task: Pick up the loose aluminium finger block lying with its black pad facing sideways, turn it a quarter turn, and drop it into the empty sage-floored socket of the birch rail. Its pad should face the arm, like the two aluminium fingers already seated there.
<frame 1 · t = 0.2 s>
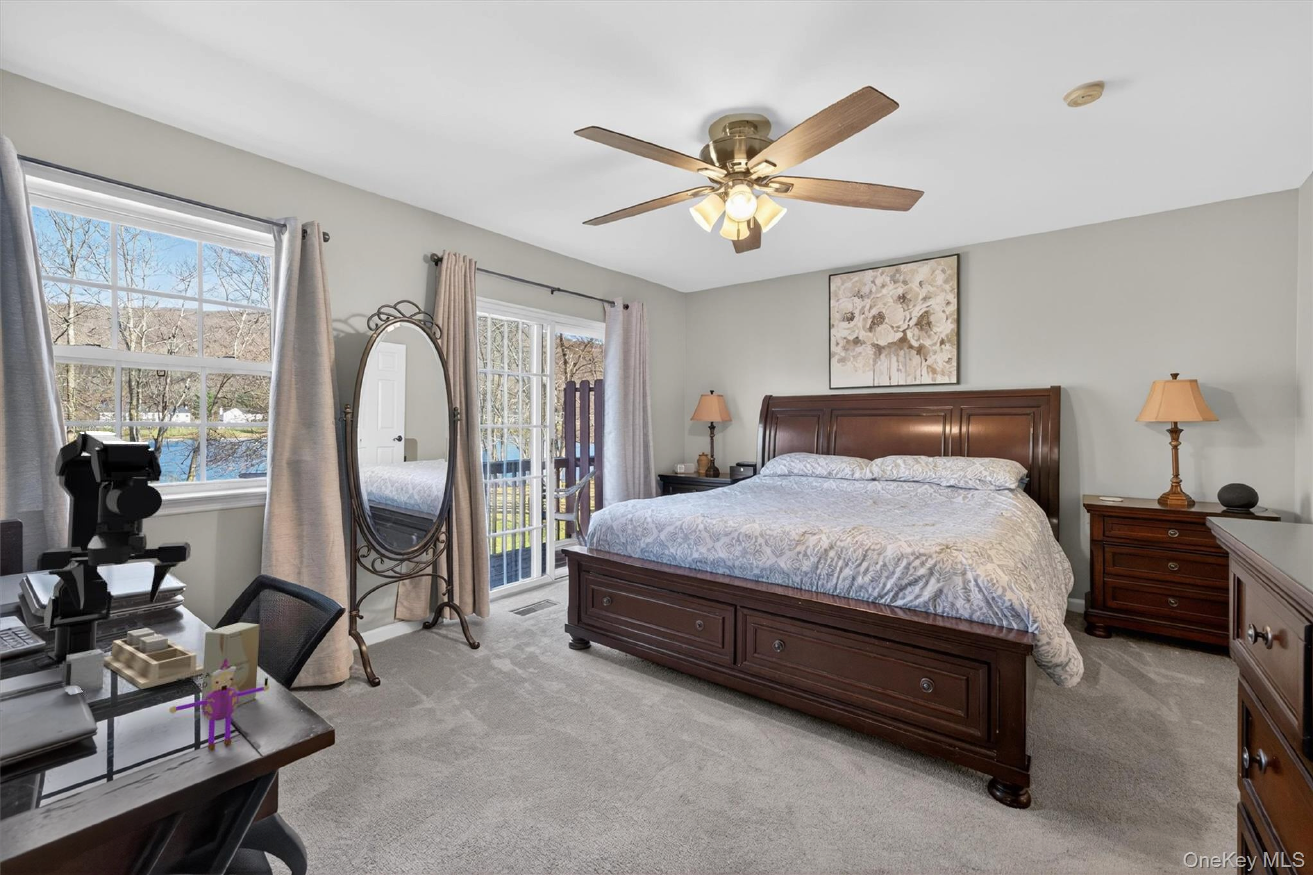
hand: (116, 605, 100), 14 cm above the table, tool pointing down, fingers open, 9 cm apart
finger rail: (152, 667, 109), on the table
wizard figurine: (219, 746, 81), on the table
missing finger: (83, 689, 99), on the table
skincare box: (229, 705, 94), on the table
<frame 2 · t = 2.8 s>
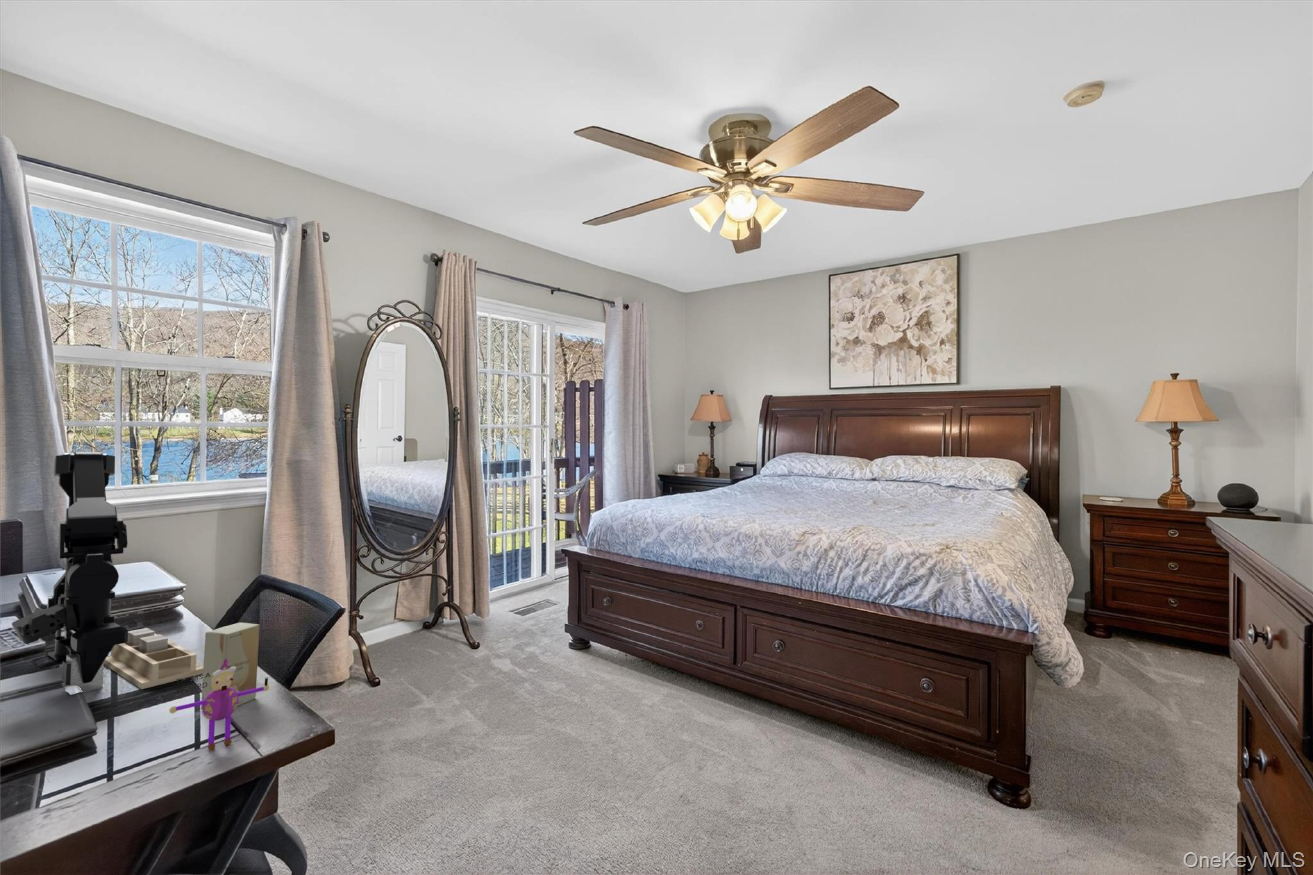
hand: (84, 680, 99), 2 cm above the table, tool pointing down, fingers closed on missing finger, 3 cm apart
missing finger: (83, 689, 99), on the table, touching gripper
everything else where it was.
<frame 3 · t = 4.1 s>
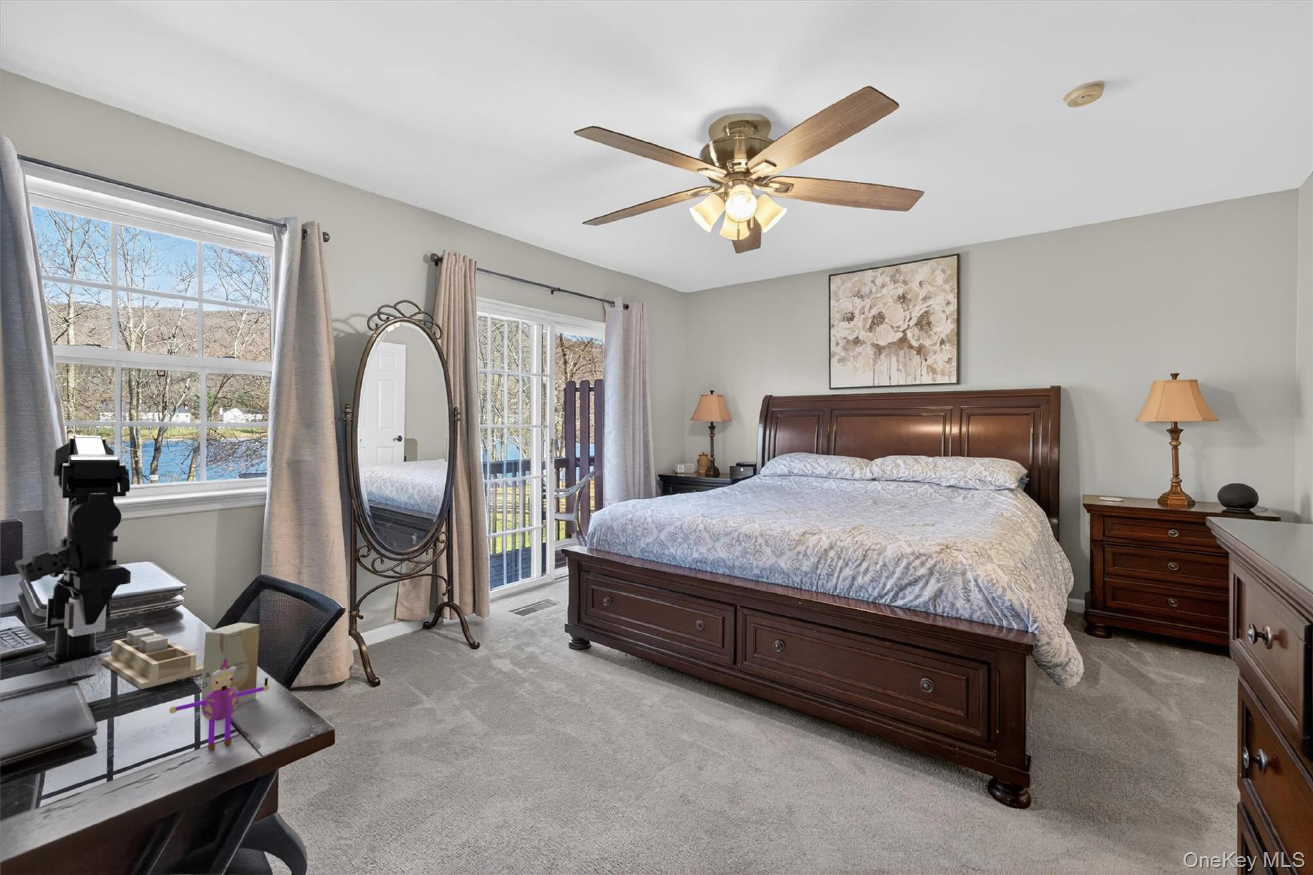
hand: (87, 622, 99), 11 cm above the table, tool pointing down, fingers closed on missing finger, 3 cm apart
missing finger: (86, 632, 99), point 10 cm above the table, touching gripper
everything else where it was.
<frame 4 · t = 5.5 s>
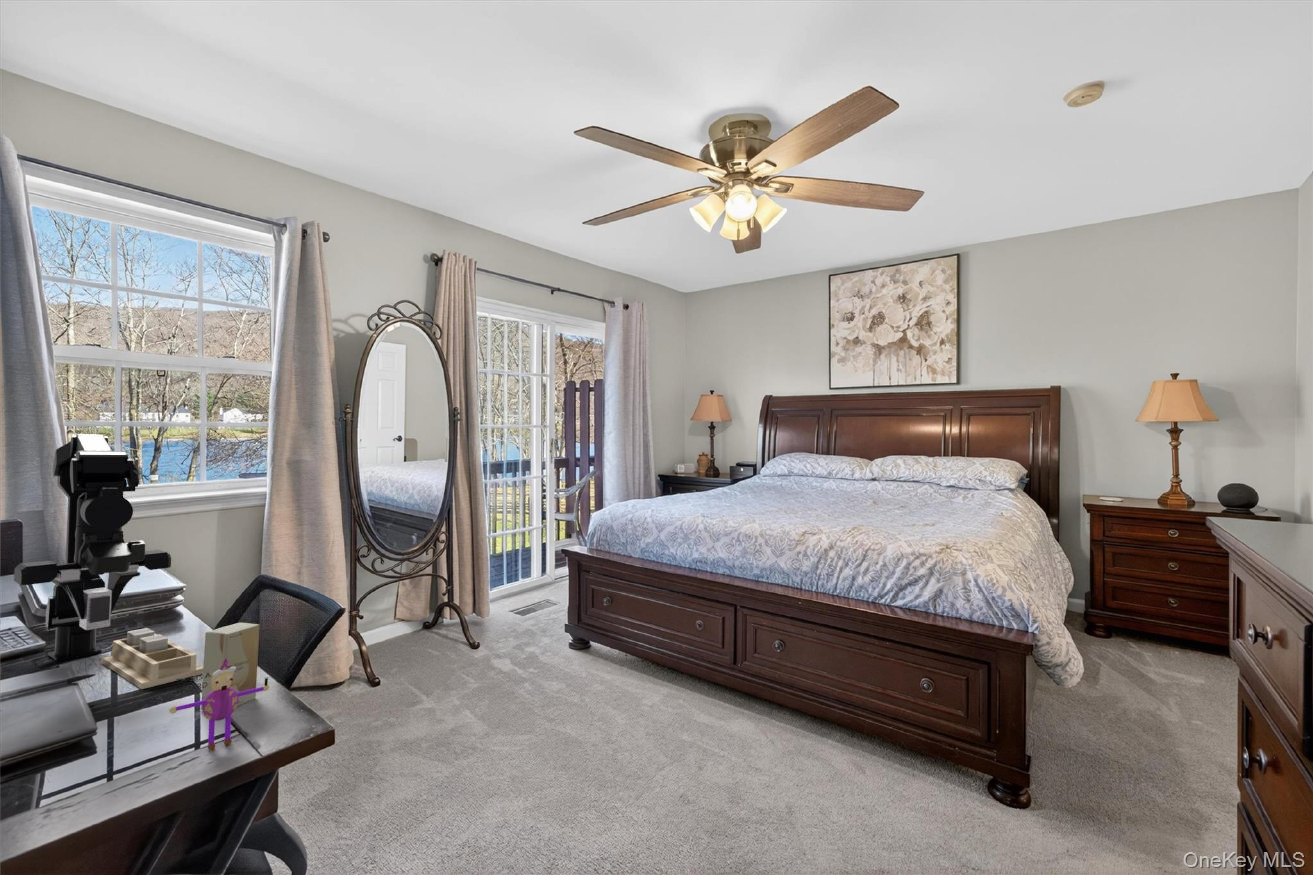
hand: (95, 616, 99), 12 cm above the table, tool pointing down, fingers closed on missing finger, 3 cm apart
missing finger: (94, 625, 99), point 10 cm above the table, touching gripper
everything else where it was.
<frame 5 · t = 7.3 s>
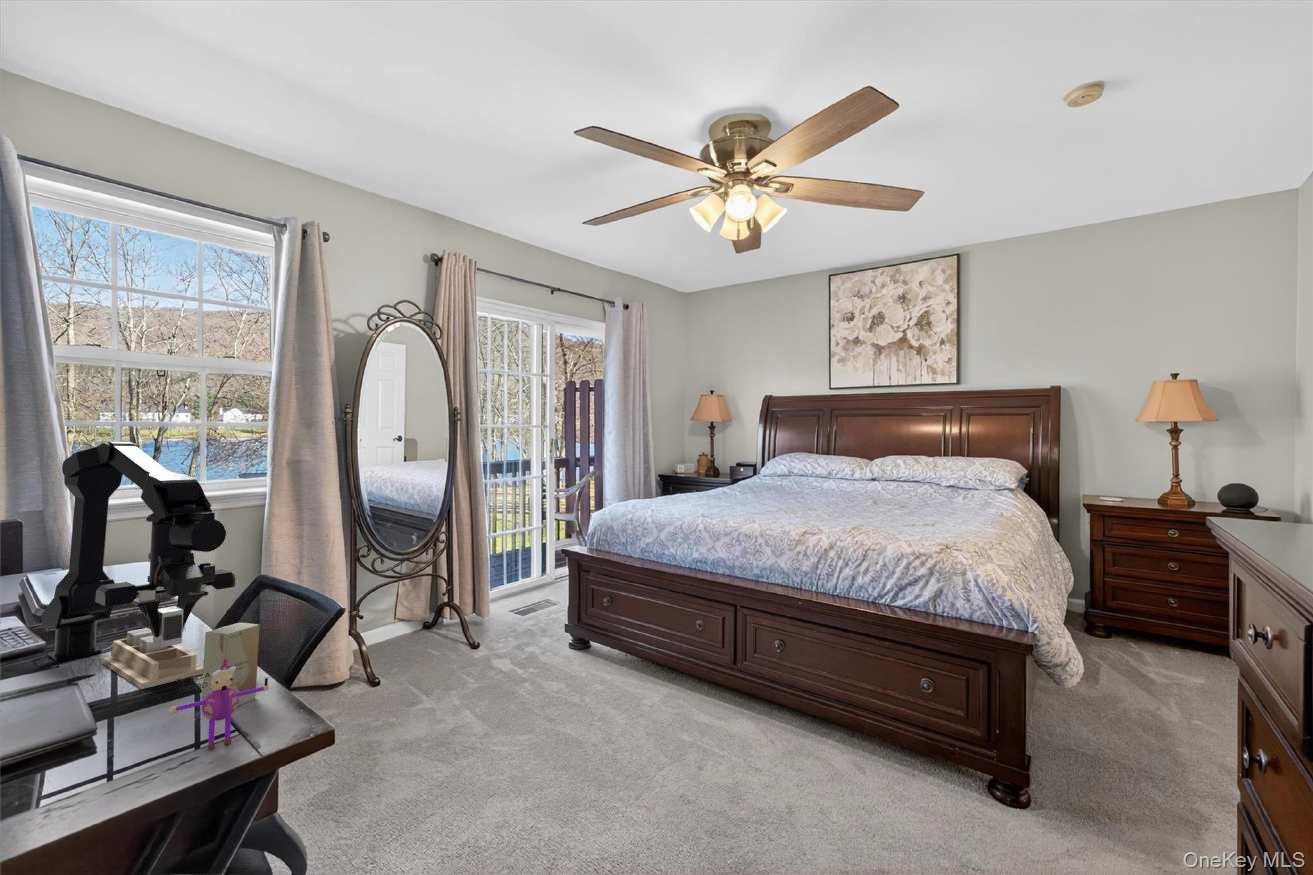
hand: (167, 634, 105), 7 cm above the table, tool pointing down, fingers closed on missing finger, 3 cm apart
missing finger: (167, 643, 105), point 6 cm above the table, touching gripper
everything else where it was.
when the fingers open (4 cm above the table, at t = 8.6 s): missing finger drops 2 cm, resting on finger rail.
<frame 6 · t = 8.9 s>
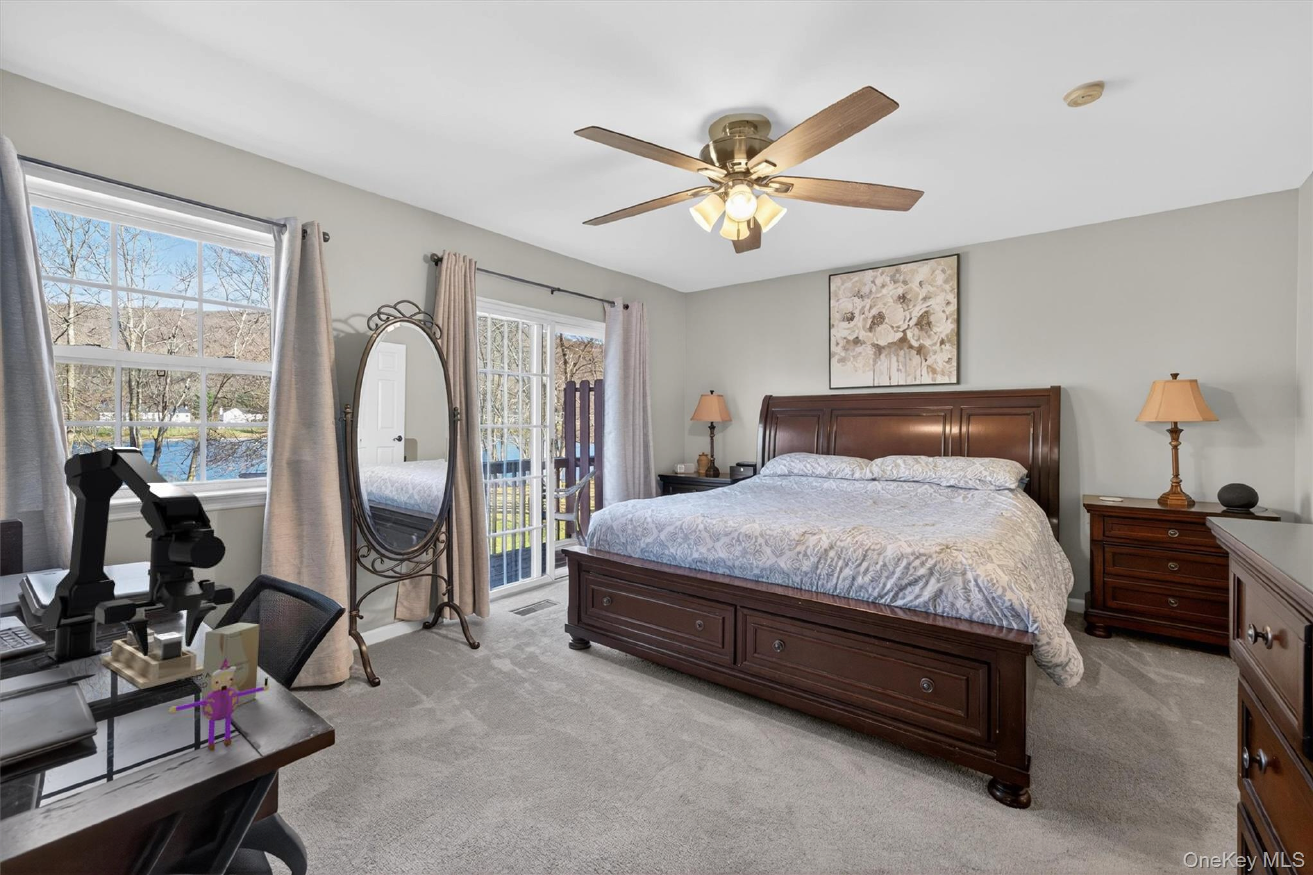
hand: (167, 650, 105), 4 cm above the table, tool pointing down, fingers open, 6 cm apart
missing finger: (166, 669, 105), point 1 cm above the table, touching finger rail
everything else where it was.
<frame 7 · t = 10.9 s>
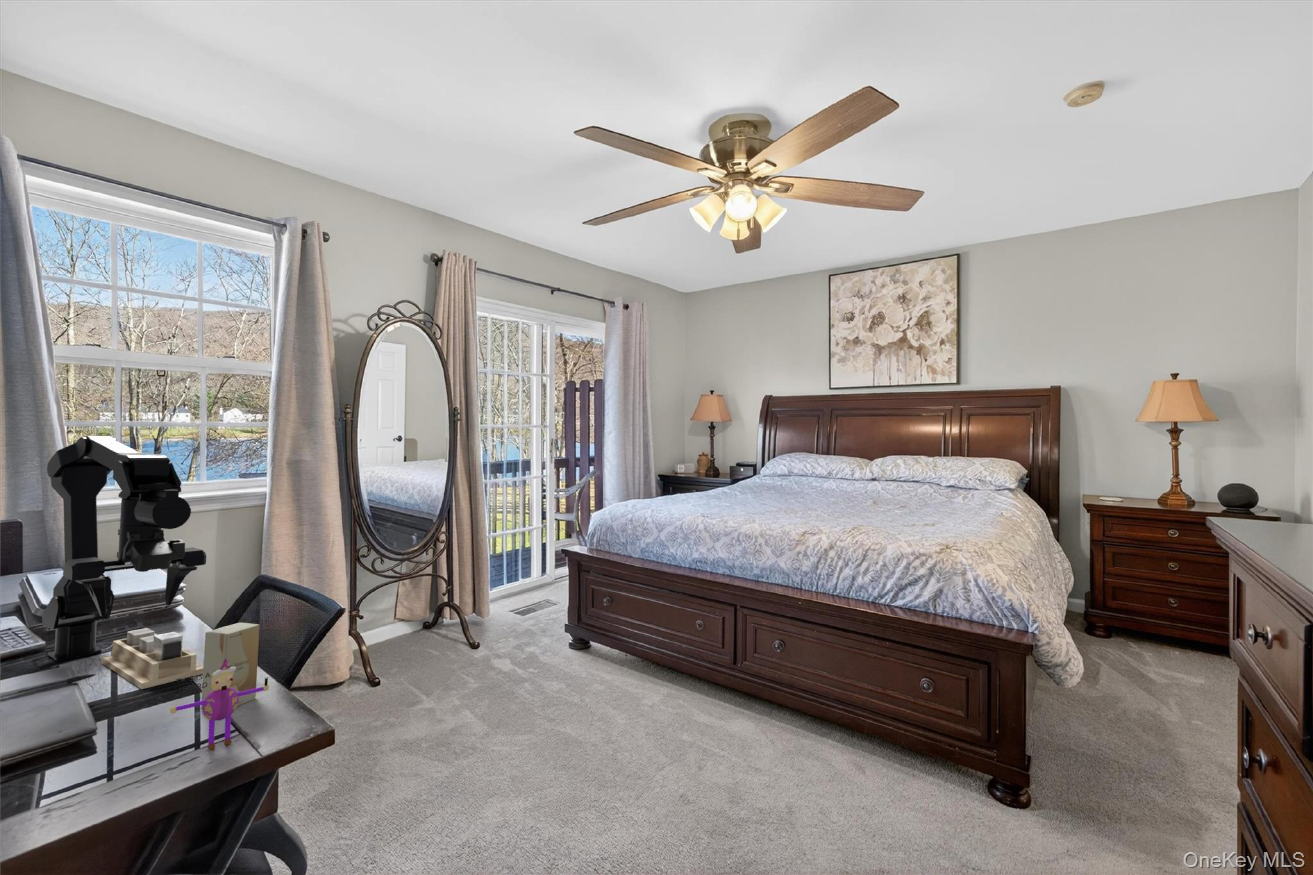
hand: (136, 610, 105), 12 cm above the table, tool pointing down, fingers open, 9 cm apart
nothing on the table moved.
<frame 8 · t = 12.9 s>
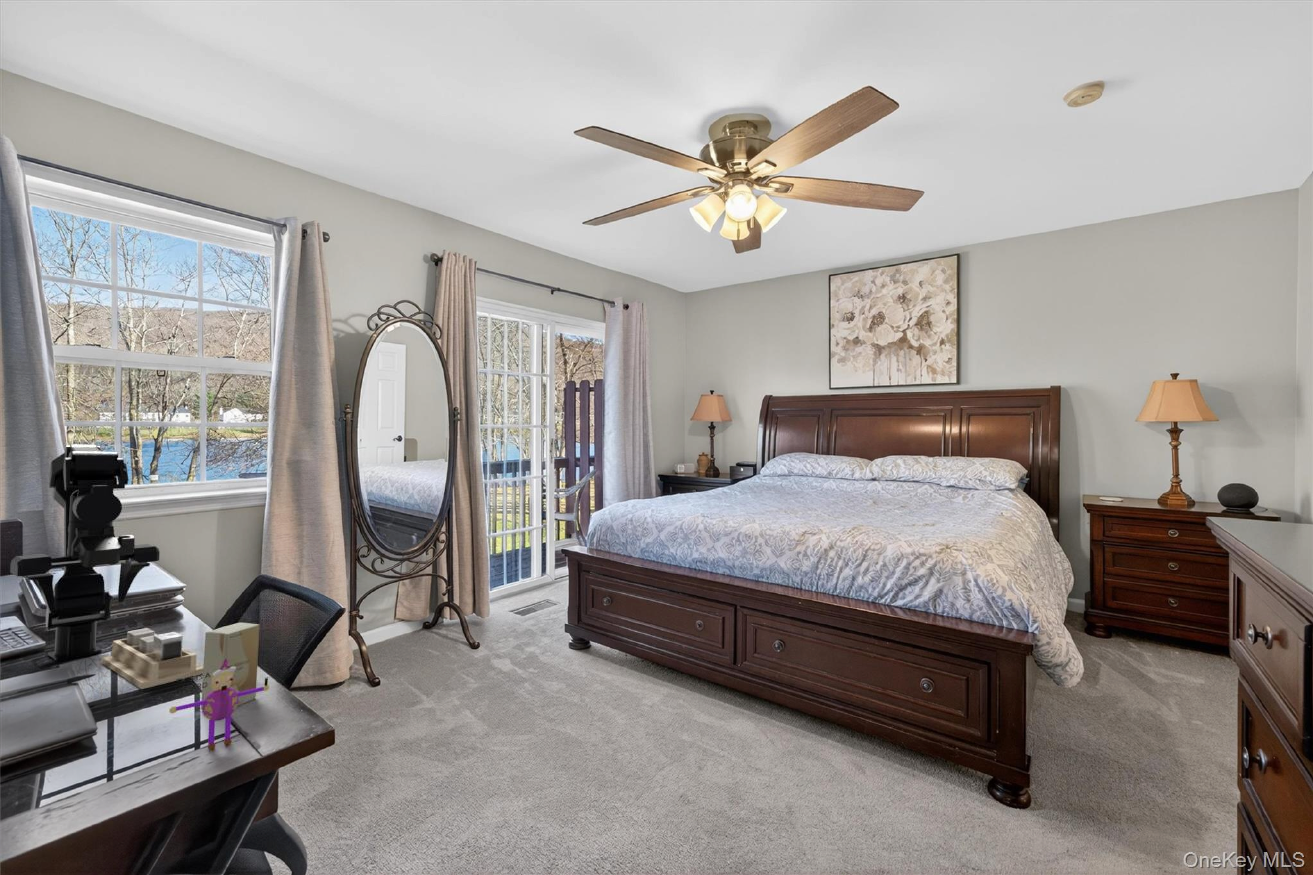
hand: (87, 606, 106), 12 cm above the table, tool pointing down, fingers open, 9 cm apart
nothing on the table moved.
at the end: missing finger 0.0 cm from the target spot on the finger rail, point 1.2 cm above the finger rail's base; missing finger tilted 0°; the gripper is holding nothing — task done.
